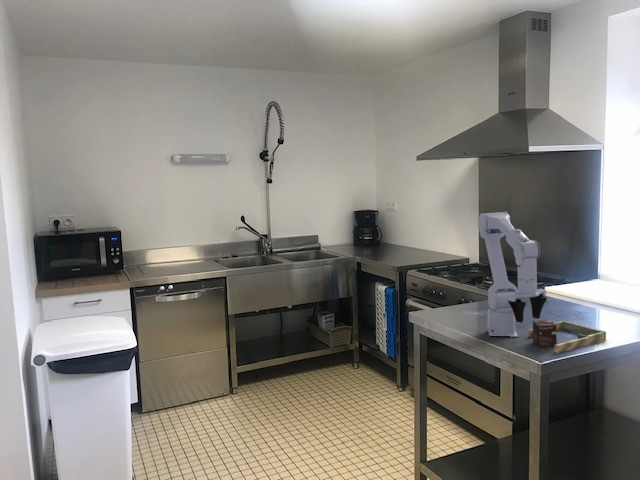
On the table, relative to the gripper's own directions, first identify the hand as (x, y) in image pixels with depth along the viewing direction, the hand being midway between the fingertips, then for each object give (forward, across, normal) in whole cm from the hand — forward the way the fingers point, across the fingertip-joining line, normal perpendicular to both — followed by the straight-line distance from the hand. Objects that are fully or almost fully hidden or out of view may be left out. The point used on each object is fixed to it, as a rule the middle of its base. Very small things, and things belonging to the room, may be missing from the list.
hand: (527, 320), depth 171 cm
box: (+10, +8, +1) cm, 13 cm away
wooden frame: (+10, +15, 0) cm, 18 cm away
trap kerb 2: (+10, +18, -6) cm, 21 cm away
